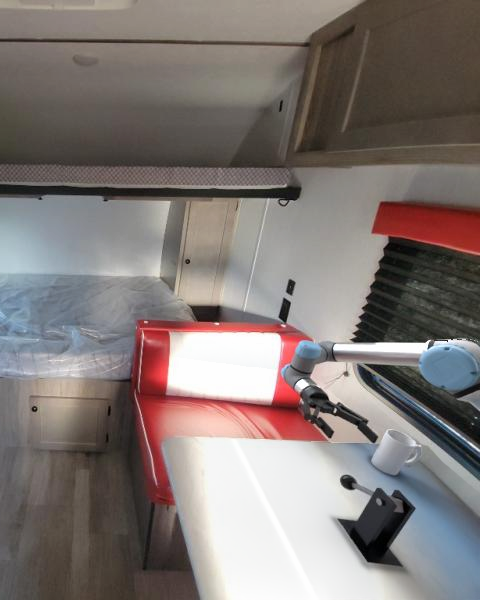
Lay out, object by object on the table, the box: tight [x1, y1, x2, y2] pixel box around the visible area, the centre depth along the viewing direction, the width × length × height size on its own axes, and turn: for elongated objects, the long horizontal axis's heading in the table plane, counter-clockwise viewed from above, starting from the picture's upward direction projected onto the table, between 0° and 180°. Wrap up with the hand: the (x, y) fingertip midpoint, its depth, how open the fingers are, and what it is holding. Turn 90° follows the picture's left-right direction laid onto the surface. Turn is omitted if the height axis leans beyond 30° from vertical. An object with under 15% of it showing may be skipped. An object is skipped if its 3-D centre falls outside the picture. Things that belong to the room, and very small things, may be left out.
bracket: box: [337, 487, 417, 568], centre depth 76 cm, size 10×8×16 cm
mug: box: [370, 428, 423, 476], centre depth 100 cm, size 10×7×12 cm, turn 73°
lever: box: [339, 474, 403, 513], centre depth 80 cm, size 15×4×4 cm, turn 178°
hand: (353, 437), depth 102 cm, fingers open, 13 cm apart
